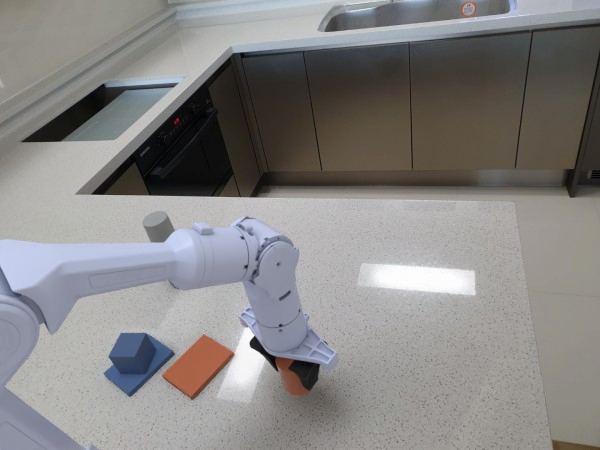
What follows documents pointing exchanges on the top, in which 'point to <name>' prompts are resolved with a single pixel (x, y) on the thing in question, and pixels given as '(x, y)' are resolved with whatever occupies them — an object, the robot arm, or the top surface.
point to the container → (158, 227)
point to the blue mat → (135, 381)
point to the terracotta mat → (198, 366)
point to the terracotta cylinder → (290, 377)
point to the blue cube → (132, 353)
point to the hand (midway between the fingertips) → (297, 375)
